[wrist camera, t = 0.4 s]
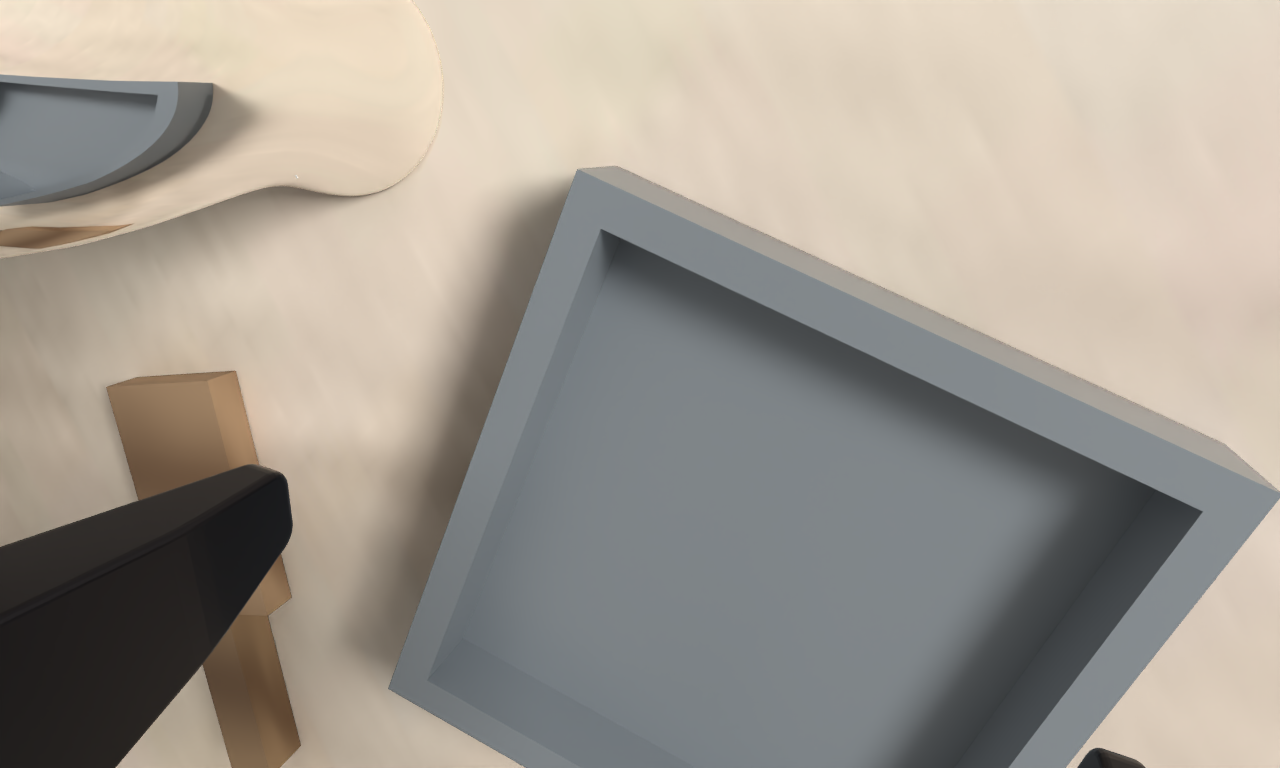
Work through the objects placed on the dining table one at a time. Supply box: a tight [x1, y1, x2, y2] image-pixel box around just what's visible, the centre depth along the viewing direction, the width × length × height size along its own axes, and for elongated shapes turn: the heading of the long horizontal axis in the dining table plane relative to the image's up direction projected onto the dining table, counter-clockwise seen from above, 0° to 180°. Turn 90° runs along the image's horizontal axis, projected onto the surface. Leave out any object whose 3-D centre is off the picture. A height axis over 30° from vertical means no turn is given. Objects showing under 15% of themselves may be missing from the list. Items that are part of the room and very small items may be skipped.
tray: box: [388, 166, 1280, 768], centre depth 22 cm, size 16×16×3 cm
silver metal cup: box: [0, 0, 443, 259], centre depth 16 cm, size 7×7×15 cm
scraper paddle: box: [106, 371, 301, 768], centre depth 28 cm, size 14×4×2 cm, turn 8°
